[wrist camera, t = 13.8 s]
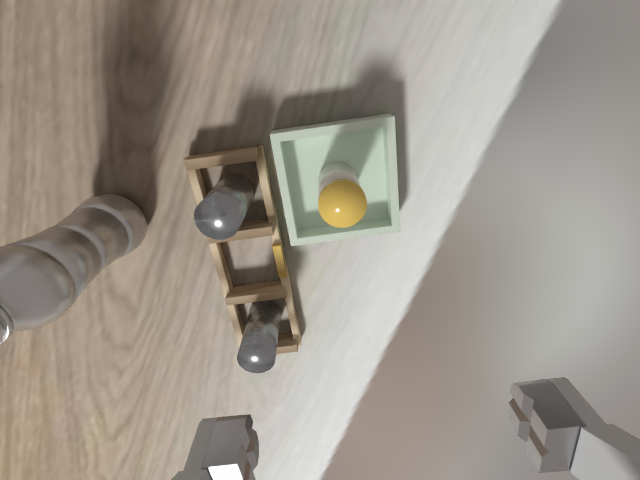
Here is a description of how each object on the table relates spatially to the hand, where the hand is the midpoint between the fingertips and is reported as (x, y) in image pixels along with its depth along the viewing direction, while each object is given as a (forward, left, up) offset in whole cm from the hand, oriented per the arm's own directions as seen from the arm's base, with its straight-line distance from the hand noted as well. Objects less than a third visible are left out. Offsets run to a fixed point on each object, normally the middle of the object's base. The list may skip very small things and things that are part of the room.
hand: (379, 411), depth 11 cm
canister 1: (0, -11, -29) cm, 31 cm away
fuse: (0, 0, -28) cm, 28 cm away
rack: (+8, -11, -29) cm, 32 cm away
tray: (0, 0, -29) cm, 29 cm away
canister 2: (+16, -11, -29) cm, 35 cm away
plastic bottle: (+1, -24, -29) cm, 38 cm away
